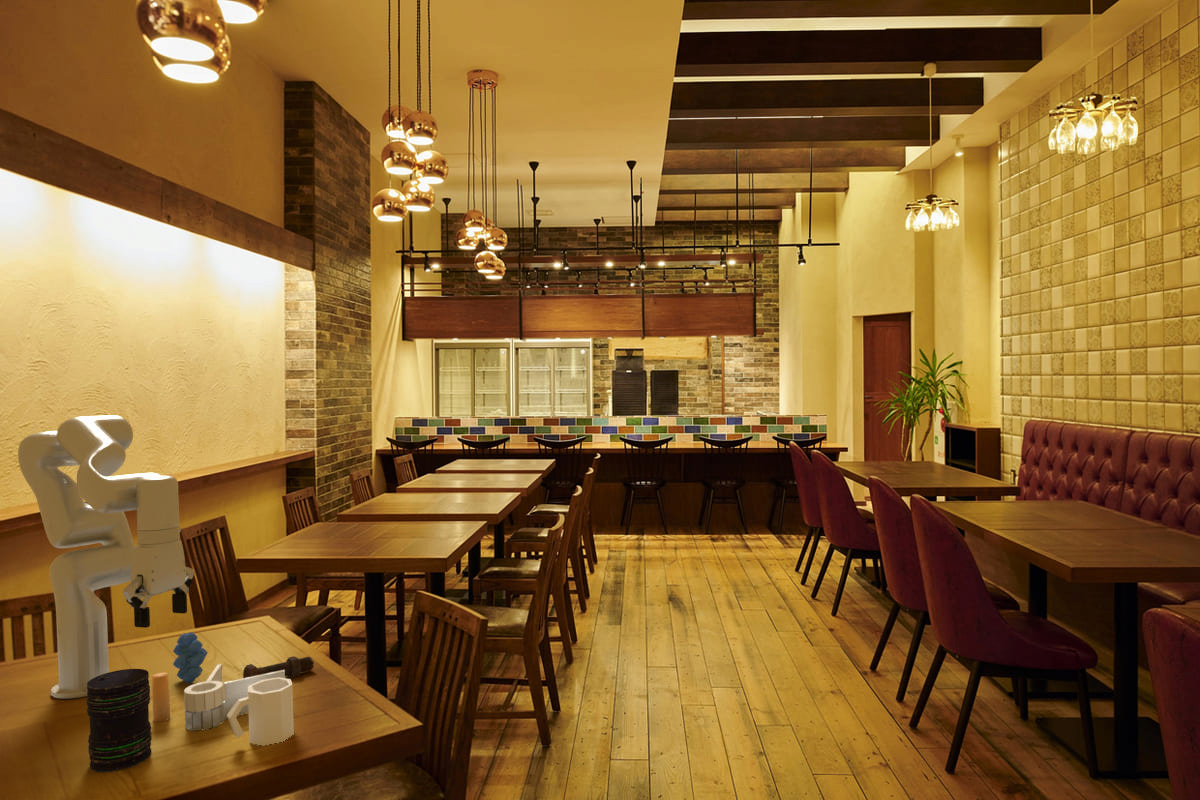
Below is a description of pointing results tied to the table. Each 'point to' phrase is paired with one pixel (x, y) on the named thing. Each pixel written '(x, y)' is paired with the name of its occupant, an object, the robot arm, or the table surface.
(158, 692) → the hinge pin
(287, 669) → the bolt
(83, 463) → the robot arm
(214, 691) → the hinge leaf cream
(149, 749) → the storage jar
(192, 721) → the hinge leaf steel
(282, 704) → the mug
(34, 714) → the table surface
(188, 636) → the grapes
